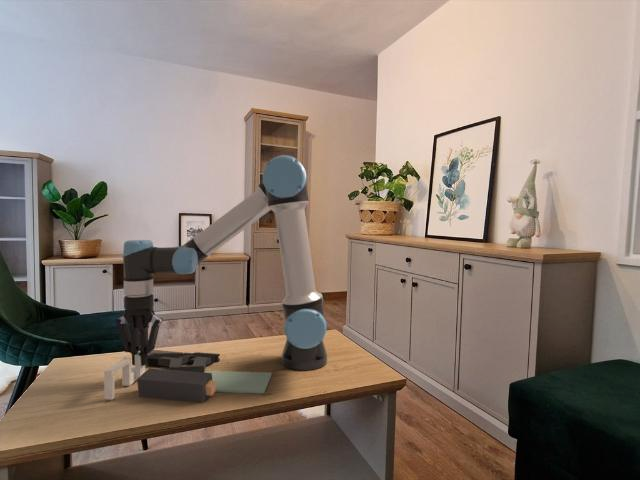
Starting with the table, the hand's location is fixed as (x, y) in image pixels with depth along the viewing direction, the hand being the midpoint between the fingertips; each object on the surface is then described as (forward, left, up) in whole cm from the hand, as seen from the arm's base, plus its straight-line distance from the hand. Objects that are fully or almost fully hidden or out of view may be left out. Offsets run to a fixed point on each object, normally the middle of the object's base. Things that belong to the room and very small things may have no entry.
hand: (140, 375), depth 104 cm
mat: (-24, 0, -1) cm, 24 cm away
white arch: (+2, +5, -1) cm, 5 cm away
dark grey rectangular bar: (-14, +8, -1) cm, 16 cm away
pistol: (-5, -10, -1) cm, 12 cm away
